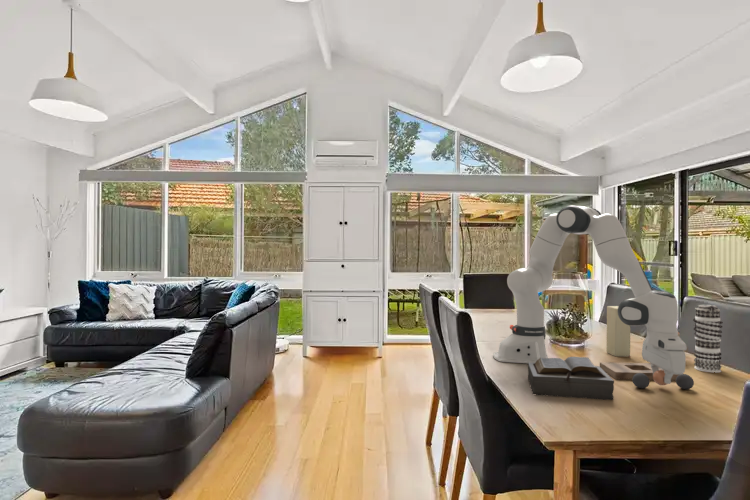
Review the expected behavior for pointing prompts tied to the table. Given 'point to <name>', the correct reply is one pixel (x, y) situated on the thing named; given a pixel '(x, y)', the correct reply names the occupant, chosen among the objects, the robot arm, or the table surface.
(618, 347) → the toy refrigerator
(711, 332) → the black white tall cylinder
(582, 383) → the bible
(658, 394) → the table surface
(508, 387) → the table surface
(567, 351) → the table surface
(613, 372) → the walnut board
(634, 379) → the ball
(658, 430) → the table surface
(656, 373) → the terracotta ball
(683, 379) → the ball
